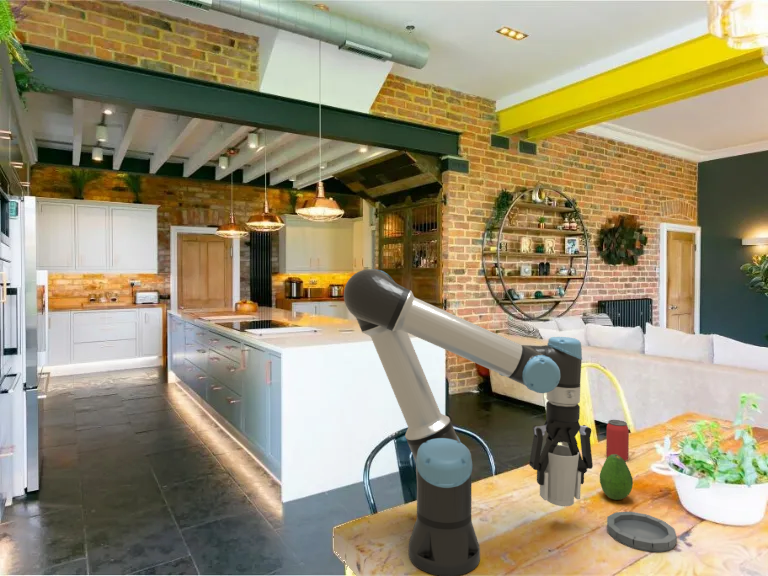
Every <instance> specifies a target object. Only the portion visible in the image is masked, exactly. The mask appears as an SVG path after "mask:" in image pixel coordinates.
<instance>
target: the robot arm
mask: <svg viewBox="0 0 768 576" xmlns="http://www.w3.org/2000/svg"><path fill="white" fill-rule="evenodd" d="M343 300H344V304H345V307H347V310H348V311H349V313H350V314H351V315H352V316H354V317H355V319H356V320H357V323H358V325H359V328H360V331H361V333H362V334H365V335H367V336H369V337H370V338H371V340H372V343H373V345H374V348H375V351H376V352H377V355H378V357H379V360H380V362H381V365H382V367H383V369H384V372H385V374H386V377H387V380H388V382H389V384H390V386H391V389H392V391H393V393H394V397H395V398H396V402H397V403H398V404H397V405H398V406H399V409H400V410H401V413H402V415H403V418H404V420H405V423H406V425H407V430H406V432H405V434H404V436H405V439H406V442H407V445H408V447H409V449H410V451H411V454H412V457H413V459H414V462H415V472H416V473H415V474H416V521H415V522H414V526H413V529H412V532H411V536H410V539H409V542H408V557H409V560H410V561H411V562H412V564H413V565H414V566H415V567H416V568H418V569H419V570H421V571H423V572H425V573H428V574H431V575H435V576H461V575H464V574H468V573H470V572H472V571H473V570H475V569H476V567H478V565H479V563H480V560H481V556H480V555H481V548H480V544H479V541H478V537H477V534H476V531H475V528H474V524H473V520H472V472H473V467H474V466H473V461H472V453H471V451H470V449H469V448H468V447H467V445H465V444H464V443H462V442H461V440H460V437H459V436H458V435H457V434H456V431H455V427H454V425H453V424H452V421H451V418H450V417H449V416H447V415H445V414H444V413H441V411H440V409H439V406H438V404H437V401H436V398H435V396H434V394H433V391H432V389H431V386H430V383H429V382H428V379H427V377H426V374H425V372H424V369H423V368H422V364H421V362H420V360H419V357H418V354H417V352H416V349H415V347H414V346H413V343H412V341H411V338H410V335H412V336H414V337H417V338H418V339H421V340H422V341H425V342H428V343H430V344H432V345H433V346H436V347H439V348H442V350H445V351H448V352H449V353H451V354H454V355H456V356H459V357H461V358H464V359H466V360H468V361H471V362H472V363H475V364H477V365H479V366H481V367H484V368H486V369H489V370H490V371H493V372H495V373H498V375H500V377H501V376H503V377H507V378H509V380H512V381H515V382H517V383H519V384H521V385H524V386H525V387H526V388H527V389H529V390H530V391H533V392H535V393H537V394H546V400H547V402H546V403H545V404H546V405H545V406H546V407H545V419H546V420H545V422H544V424H543V425H540V426H537V425H533V427H532V432H533V439H532V445H531V451H530V456H529V463H528V465H529V466H530V467H531V468H532V469H533V470H535V471H536V482H537V484H538V485H539V496H540V498H541V499H542V500H543V501H547V500H548V472H547V471H546V468H547V465H548V463H549V456H548V453H553V451H554V449H555V447H556V446H557V445H559V444H560V443H567V445H568V447H569V448H570V451H571V454H572V456H575V455H577V454H578V452H579V460H578V467H577V475H576V484H575V493H574V499H576V500H578V501H579V500H581V489H582V486H581V485H583V484H584V483H585V474H586V473H587V472H588V469H589V470H591V469H592V468H593V456H592V446H591V436H592V435H591V434H592V428H590V427H589V426H587V425H586V424H583V425H581V424H580V412H581V411H580V409H581V407H580V405H579V403H580V401H581V377H582V362H583V361H582V360H583V356H582V355H583V352H582V350H583V349H582V342H581V341H580V340H579V339H577V338H576V337H575V338H574V337H568V336H567V337H566V336H552V337H551V336H550V338H548V341H547V345H545V344H544V345H531V344H530V345H528V344H527V345H526V344H520V343H518V342H515V341H513V340H511V339H509V338H506V337H504V336H502V335H500V334H497V333H496V332H493V331H490V330H488V329H486V328H485V327H482V326H480V325H478V324H475V323H473V322H471V321H468V320H466V319H464V318H462V317H459V316H457V315H455V314H453V313H450V312H448V311H446V310H443V309H442V308H440V307H438V306H435V305H433V304H430V303H429V302H425V301H423V300H422V299H419V298H417V297H415V296H414V293H413V292H412V290H410V289H408V288H406V287H404V286H402V285H400V284H398V283H397V282H395V281H394V279H393V278H392V277H391V276H390V275H389V274H388V273H386V272H385V271H384V270H380V269H375V268H370V269H362V270H359V271H358V272H355V273H354V274H353V275H352V276H350V278H349V279H348V280H347V282H346V284H345V286H344V289H343ZM545 433H547V436H546V439H545V444H544V446H543V441H544V436H545ZM578 433H579V440H580V449H581V452H580V449H579V446H578V441H577V439H576V436H577V434H578Z"/></svg>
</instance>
